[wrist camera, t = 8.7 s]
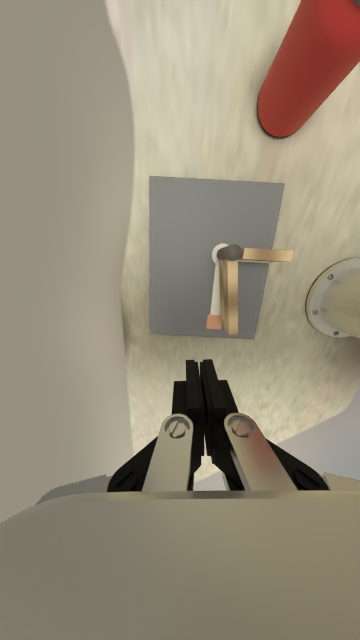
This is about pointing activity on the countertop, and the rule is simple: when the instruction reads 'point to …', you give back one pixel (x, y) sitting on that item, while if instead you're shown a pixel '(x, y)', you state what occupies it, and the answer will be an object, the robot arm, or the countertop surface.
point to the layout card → (207, 251)
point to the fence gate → (229, 286)
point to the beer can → (310, 63)
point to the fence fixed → (266, 255)
